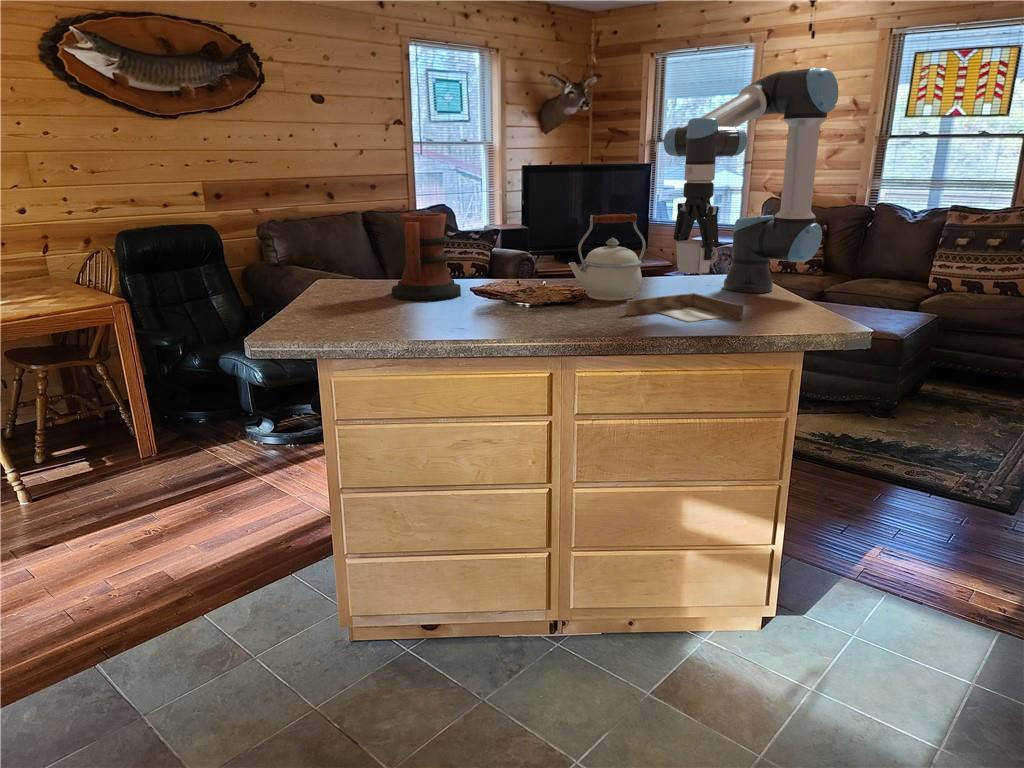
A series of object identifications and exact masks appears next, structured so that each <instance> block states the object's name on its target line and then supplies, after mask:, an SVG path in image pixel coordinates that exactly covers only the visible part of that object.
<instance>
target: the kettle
mask: <svg viewBox="0 0 1024 768" xmlns="http://www.w3.org/2000/svg"><path fill="white" fill-rule="evenodd" d="M628 222H631V223H633V228H634V230H635V232H636V233H637V235H638V236H639V238H640V239H641V241H642V249H641V253H640V255H639V257H638V256H637V255H638V254H636V252H635V251H633V250H631V249H629V248H626V247H623V246H619V244H620V242H619V240H617V239H616V238H614V237H611V238H609V239H608V240H606V242H605V244H606V245H607V246H600V247H596V248H594V249H592V250H591V251H590V252H588V254H587V256H586V257H585V259H584V258H583V255H582V246H583V243H584V241H585V240H586V238H588V236H589V235H590V233H591V232H592V230H593V226H594V225H595V224H597V223H599V224H618V223H619V224H621V223H628ZM646 244H647V243H646V240H645V238H644V236H643V235H642V233H641V232H640V230H639V228H638V227H637V214H636V213H635V212H634V213H633V212H631V214H623V213H619V214H618V213H617V214H616V213H612V214H601V215H596V214H592V215H590V218H589V228H588V230H587V231H586V233H584V235H583V236H582V238H581V239H580V241H579V244H578V247H577V249H578V255H579V256H578V257H579V258H580V261H581V262H580V263H581V265H580V266H578V265H577V264H576V262H575V261H574V262H573V261H572V262H569V263H568V265H569V267H570V269H571V270H572V273H573V275H574V277H575V278H576V279H577V281H578V282H579V283H580V284H582V287H583V288H584V289H585V290H586V292H588V293H587V297H588V298H590V299H593V300H598V301H609V302H610V301H611V302H617V301H627V300H632V299H633V298H634V297H635V294H634V293H635V292H637V290H638V289H639V288H640V286H641V285H642V280H643V279H642V270H641V266H642V265H643V262H642V260H643V256H645V255H644V254H645V251H646V249H647V248H646V247H647V245H646Z"/></svg>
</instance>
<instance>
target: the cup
mask: <svg viewBox="0 0 1024 768" xmlns="http://www.w3.org/2000/svg"><path fill="white" fill-rule="evenodd" d="M675 246H676V247H675V248H676V262H677V263H676V264H677V265H676V266H677V267H676V268H677V270H678V271H679V272H680V273H683V274H698V273H699V266H700V251H701V246H703V243H702V240H698V239H697V240H694V239H693V240H691V239H690V240H689V239H688V240H685V241H676V243H675ZM712 251H713V253H714V254H713V255H714V256H713V258H712V259H711V260H710V265H712V264H714V263H716V261H717V260H718V257H719V255H718V253H719V252H718V249H717V248H716V246H713V247H712ZM699 274H700V273H699Z"/></svg>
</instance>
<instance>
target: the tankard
mask: <svg viewBox="0 0 1024 768" xmlns="http://www.w3.org/2000/svg"><path fill="white" fill-rule="evenodd" d="M399 218H400V221H401V224H402V225H401V226H402V229H403V234H404V235H403V236H401V242H402V245H404V246H405V253H403V255H402V262H403V263H404V267H403V271H402V275H401V279H400V280H398V281H397V284H396V285H393V286H392V287H391V299H395V300H398V301H404V302H413V303H432V302H433V303H434V302H443V301H450V300H453V299H454V300H455V299H457V298H460V297H461V296H462V293H461V292H462V289H461V284H458V283H455V279H453V278H452V277H451V274H450V272H449V267H448V265H447V263H446V262H449V257H448V253H446V252H444V245H447V244H448V243H447V242H448V241H447V240H448V237H447V235H445V229H446V222H447V213H434V212H432V213H431V212H419V213H418V212H417V213H404V214H403V213H402V214H400V217H399Z"/></svg>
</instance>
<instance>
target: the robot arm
mask: <svg viewBox="0 0 1024 768" xmlns="http://www.w3.org/2000/svg"><path fill="white" fill-rule="evenodd" d="M838 100H839V85H838V81H837V78H836V76H835V74H834V72H833V71H832V70H830V69H828V68H824V67H821V68H820V67H819V68H816V67H812V68H803V69H796V70H794V69H793V70H783V71H782V70H781V71H778V72H774V73H770V74H768V75H765V76H763V77H762V78H760V79H758V80H756V81H754V82H752V83H751V84H748V85H747V86H745V87H743V88H742V89H741V90H740V92H739V93H738V95H737V96H734V98H732V99H730V100H728V101H727V102H725V103H723V104H721V105H720V106H718V107H716V108H714V109H713V110H711V111H709V112H707V113H706V114H704V115H702V116H701V117H697V118H696V117H695V118H691V119H688V121H687V122H688V123H687V124H686V125H685V126H683V127H679V126H678V127H674V128H673V127H672V128H669V129H668V130H667V131H666V132H665V135H664V137H663V149H664V151H665V152H666V154H667V155H669V156H672V157H678V158H680V157H685V161H684V163H685V164H684V178H683V180H684V181H686V182H684V183H683V191H682V192H683V193H682V194H683V198H685V202H680V203H679V202H678V203H677V205H676V207H677V209H676V210H677V215H676V221H675V227H674V232H673V240H674V241H676V242H678V241H685V240H689V237H690V235H691V233H692V229H693V227H694V223H695V222H696V223H697V224H698V226H699V227H698V228H699V232H700V237H701V241H702V243H703V246H701V251H700V266H699V274H705V273H710V266H711V264H710V261H711V260H712V255H713V254H712V251H713V250H712V247H716V246H719V222H718V220H719V219H718V216H719V215H718V214H719V210H720V209H719V206H718V205H711V204H712V203H711V198H713V196H714V189H715V187H714V186H715V183H714V182H712V181H714V180H715V174H716V158H718V157H720V158H721V157H728V158H729V157H730V158H732V157H735V156H739V155H741V154H742V153H743V152H744V151H745V150H746V147H747V145H748V134H747V132H746V131H745V129H744V128H743V127H740V126H741V125H742V124H744V123H745V122H747V121H749V120H757V119H759V118H761V117H762V116H767V115H779V114H781V115H783V121H784V122H785V123H786V125H787V126H788V130H787V139H786V146H785V147H786V149H785V158H784V159H785V161H784V171H783V178H782V179H783V182H782V191H781V200H780V210H778V212H777V213H775V215H769V214H768V215H761V216H760V215H759V216H757V215H756V216H748V217H739V218H737V219H736V220H735V222H734V228H733V239H732V251H731V262H730V263H731V264H730V267H729V269H728V272H727V274H726V278H724V281H723V289H724V290H727V291H730V292H736V293H737V292H738V293H750V294H751V293H752V294H756V293H757V294H759V293H768V292H772V291H773V287H774V286H773V285H774V282H773V280H772V274H771V269H770V261H771V260H778V261H786V262H787V261H788V262H791V263H805V262H808V261H810V260H811V259H812V258H814V256H815V255H816V253H817V252H818V250H819V249H820V246H821V244H822V243H821V242H822V239H823V230H822V226H821V225H820V224H818V223H817V222H816V215H815V213H813V211H812V204H813V194H814V185H815V177H816V167H817V158H818V152H819V151H818V149H819V141H820V131H821V126H822V124H823V123H824V122H825V121H827V117H828V113H831V112H832V111H833V110H834V109H835V108H836V104H837V103H838Z"/></svg>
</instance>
